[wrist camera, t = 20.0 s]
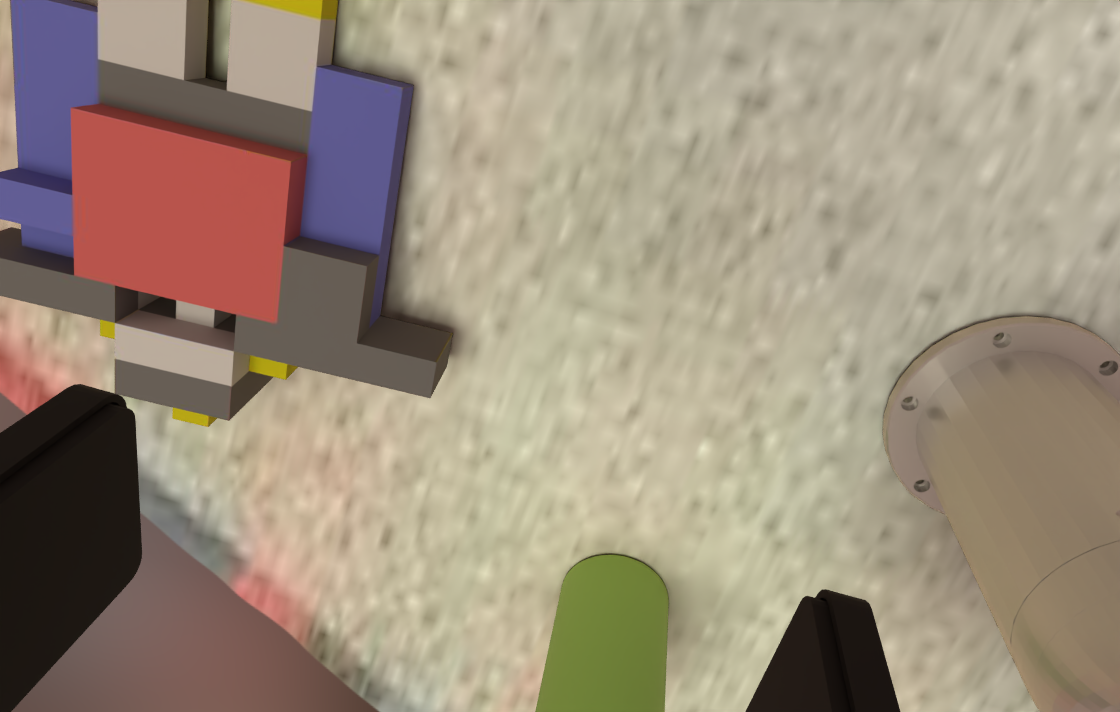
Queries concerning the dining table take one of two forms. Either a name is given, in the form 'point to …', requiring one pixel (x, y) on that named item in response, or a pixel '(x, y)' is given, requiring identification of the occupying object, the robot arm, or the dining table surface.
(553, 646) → the tumbler
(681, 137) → the dining table surface
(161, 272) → the toy
